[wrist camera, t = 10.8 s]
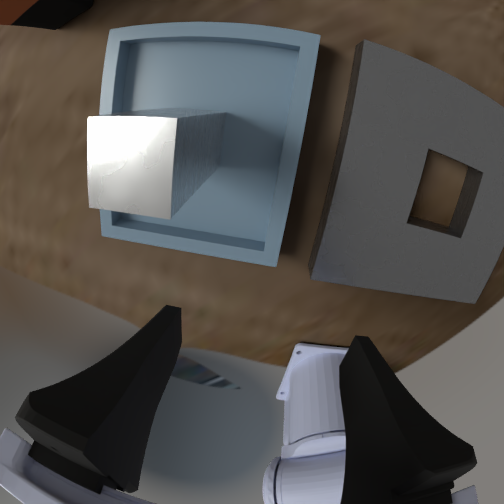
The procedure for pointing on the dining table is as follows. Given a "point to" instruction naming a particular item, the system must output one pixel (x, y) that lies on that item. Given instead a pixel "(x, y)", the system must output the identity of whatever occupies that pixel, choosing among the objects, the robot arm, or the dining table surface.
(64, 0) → the battery
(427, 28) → the dining table surface
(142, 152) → the pin
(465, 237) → the pin plate
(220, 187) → the tray
